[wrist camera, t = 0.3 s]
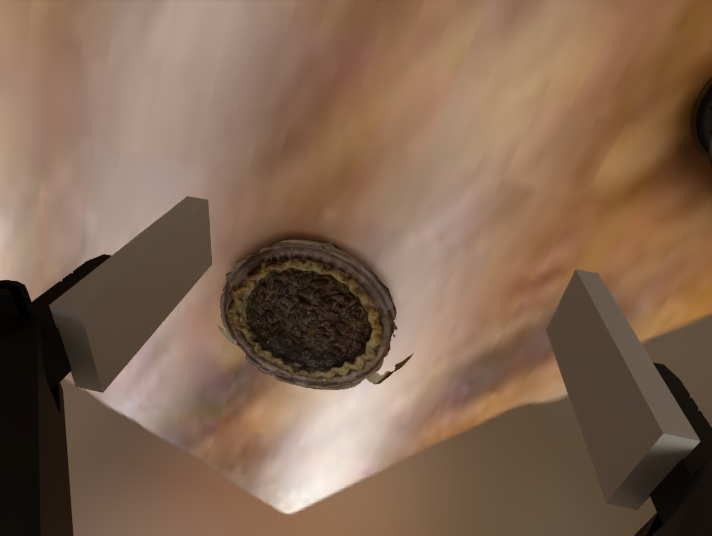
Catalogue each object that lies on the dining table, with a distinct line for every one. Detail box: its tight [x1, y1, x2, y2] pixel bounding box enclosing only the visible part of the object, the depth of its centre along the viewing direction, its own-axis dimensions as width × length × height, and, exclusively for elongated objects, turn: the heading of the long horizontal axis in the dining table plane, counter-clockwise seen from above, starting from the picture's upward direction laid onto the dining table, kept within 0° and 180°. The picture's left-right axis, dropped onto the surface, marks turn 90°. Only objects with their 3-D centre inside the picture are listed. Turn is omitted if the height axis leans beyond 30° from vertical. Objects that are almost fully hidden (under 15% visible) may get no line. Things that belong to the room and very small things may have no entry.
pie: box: [218, 240, 413, 390], centre depth 51 cm, size 28×27×5 cm
